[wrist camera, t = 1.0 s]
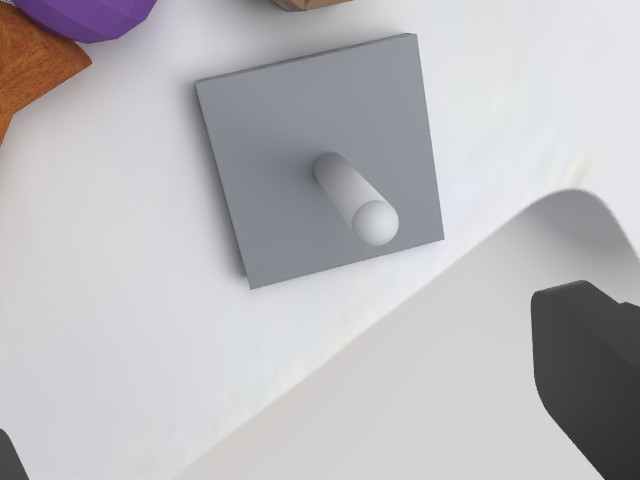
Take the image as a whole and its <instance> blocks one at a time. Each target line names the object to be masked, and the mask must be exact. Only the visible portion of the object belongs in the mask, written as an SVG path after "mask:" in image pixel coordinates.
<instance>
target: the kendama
mask: <svg viewBox="0 0 640 480" xmlns="http://www.w3.org/2000/svg"><path fill="white" fill-rule="evenodd" d="M12 1H13V2H14V4H15V5H16V6H17V7H18V8H17V7H15V6H13V5H11V4H8V3H6V2H2V1H0V146H1V143H2V141H3V138H4V136H5V133H6V131H7V128H8V126H9V123H10V121H11V118H12V116H13V114H14V113H16V112H17V111H19V110H20V109H22V108H24V107H25V106H27V105H28V104H30V103H31V102H33V101H34V100H36V99H38V98H39V97H41V96H42V95H44V94H45V93H47V92H49V91H50V90H52V89H53V88H55V87H56V86H58V85H60V84H61V83H63V82H64V81H66V80H67V79H69V78H70V77H72V76H74V75H75V74H77V73H78V72H80V71H81V70H83V69H85V68H86V67H88V66H89V65H91V64H92V62H91V59H90V57H89V56H88V55H87V54H86V53H85V52H84V51H83V50H82V49H81V48H80V47H79V46H78V45H77V44H76V43H74V42H73V41H72V40H74V41H78V42H83V43H87V44H89V43H95V42H101V41H106V40H112V39H117V38H119V37H121V36H122V35H124V34H125V33H127V32H128V31H129V30H131V29H132V28H134V27H135V26H137V25H138V24H140V23H141V22H142V21H144V20H145V19H146V18H147V16H148V14H149V13H150V11H151V9H152V8H153V6H154V4H155V3H156V1H157V0H12Z"/></svg>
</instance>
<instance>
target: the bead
mask: <svg viewBox="0 0 640 480" xmlns="http://www.w3.org/2000/svg"><path fill="white" fill-rule="evenodd" d="M271 1H273V2H274V3H276V4H277V5H278V6H280V7H281V8H283V9H284V10H286V11H287V12H295V11H306V10H311V9H316V8H320V7H325V6H329V5H334V4H338V3H343V2H348V1H352V0H271Z"/></svg>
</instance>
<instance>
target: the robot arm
mask: <svg viewBox="0 0 640 480" xmlns="http://www.w3.org/2000/svg"><path fill="white" fill-rule="evenodd" d="M531 319H532V320H531V321H532V342H533V360H534V378H535V383H536V387H537V390H538V393H539V396H540V398H541V401H542V403H543V405H544V407H545V409H546V410H547V411H548V413H549V415H550V416H551V417H552V418H553V419H554V420H555V422H556V423H557V424H558V425H559V427H560V428H561V429H562V430H563V431H564V432H565V433H566V434H567V436H568V437H569V438H570V439H571V440H572V442H573V443H574V444H575V445H576V446H577V448H578V449H579V450H580V451H581V452H582V453H583V455H584V456H585V457H586V458H587V459H588V461H589V462H590V463H591V464H592V465H593V466H594V468H596V470H597V471H598V472H599V473H600V474H601V476H602V477H603V478H604V479H605V480H640V307H639V306H636V305H633V304H630V303H627V302H624V303H621V304H619V303H618V302H616V301H615V300H613V299H612V298H611V297H609V296H608V295H606V294H605V293H604V292H602V291H601V290H599V289H598V288H596V287H595V286H594V285H592V284H591V283H589V282H588V281H585V280H579V281H575V282H571V283H568V284H564V285H560V286H556V287H552V288H548V289H544V290H540V291H537V292H535V293H534V294H533V296H532V299H531ZM0 480H29V478H28V476H27V474H26V472H25V470H24V468H23V465H22V463H21V461H20V459H19V457H18V455H17V453H16V450H15V448H14V446H13V444H12V442H11V440H10V438H9V436H8V435H7V434H6V432H5V431H3V430H2V429H0Z"/></svg>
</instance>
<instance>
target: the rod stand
mask: <svg viewBox="0 0 640 480" xmlns="http://www.w3.org/2000/svg"><path fill="white" fill-rule="evenodd" d="M195 86H196V90H197V94H198V98H199V101H200V105H201V109H202V112H203V116H204V120H205V123H206V127H207V131H208V134H209V138H210V142H211V146H212V149H213V153H214V157H215V160H216V164H217V168H218V171H219V175H220V179H221V182H222V186H223V190H224V194H225V197H226V201H227V205H228V208H229V212H230V216H231V219H232V223H233V227H234V230H235V234H236V238H237V242H238V245H239V249H240V253H241V256H242V260H243V264H244V267H245V271H246V275H247V278H248V282H249V286H250V290H251V289H255V288H259V287H262V286H266V285H270V284H274V283H278V282H282V281H286V280H289V279H293V278H297V277H301V276H305V275H309V274H313V273H316V272H320V271H324V270H328V269H332V268H336V267H340V266H343V265H347V264H351V263H355V262H359V261H363V260H367V259H370V258H374V257H378V256H382V255H386V254H390V253H394V252H397V251H401V250H405V249H409V248H413V247H417V246H421V245H424V244H428V243H432V242H436V241H440V240H444V232H443V224H442V217H441V210H440V202H439V195H438V188H437V180H436V173H435V165H434V158H433V151H432V143H431V136H430V129H429V121H428V114H427V107H426V99H425V92H424V84H423V77H422V70H421V62H420V55H419V48H418V40H417V34H410V33H405V34H401V35H396V36H392V37H388V38H383V39H379V40H374V41H370V42H365V43H361V44H357V45H352V46H348V47H343V48H339V49H334V50H330V51H326V52H321V53H317V54H312V55H308V56H303V57H299V58H295V59H290V60H286V61H281V62H277V63H272V64H268V65H264V66H259V67H255V68H250V69H246V70H241V71H237V72H233V73H228V74H224V75H219V76H215V77H210V78H206V79H202V80H197V81H195Z"/></svg>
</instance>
